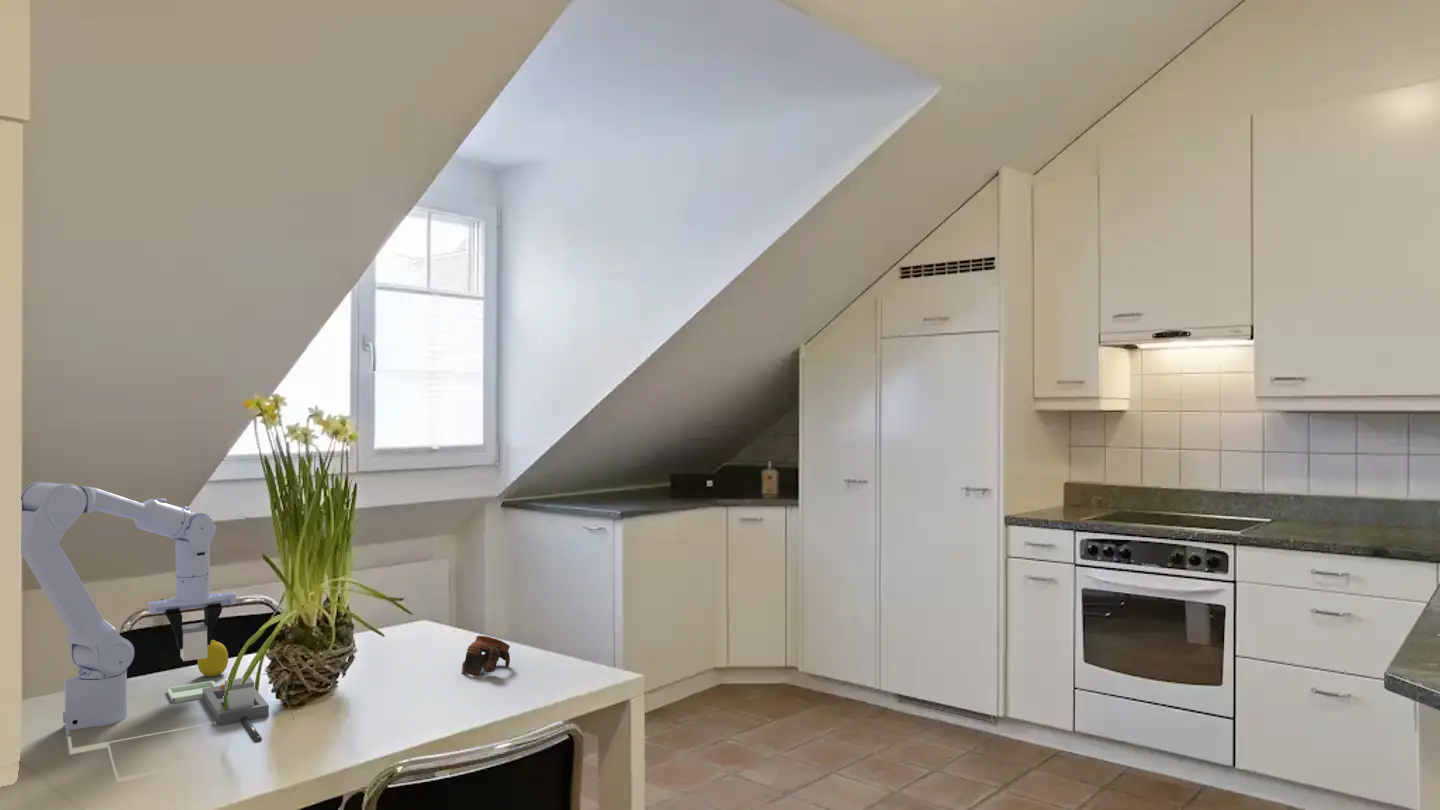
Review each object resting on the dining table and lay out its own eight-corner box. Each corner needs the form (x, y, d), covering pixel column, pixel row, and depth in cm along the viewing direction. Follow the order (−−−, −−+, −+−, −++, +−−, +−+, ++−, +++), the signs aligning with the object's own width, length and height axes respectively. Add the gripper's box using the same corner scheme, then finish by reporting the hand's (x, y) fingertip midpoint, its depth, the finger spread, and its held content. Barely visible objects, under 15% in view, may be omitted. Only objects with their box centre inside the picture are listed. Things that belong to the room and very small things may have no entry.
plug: (183, 661, 183) (182, 629, 183) (180, 656, 186) (179, 625, 186) (207, 657, 185) (207, 626, 185) (204, 653, 188) (203, 622, 188)
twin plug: (229, 720, 171) (228, 686, 171) (225, 714, 175) (224, 680, 174) (254, 715, 174) (254, 682, 174) (250, 709, 177) (249, 676, 177)
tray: (172, 707, 180) (172, 698, 180) (166, 696, 187) (166, 687, 187) (220, 698, 185) (220, 690, 185) (213, 688, 191) (213, 680, 191)
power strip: (231, 750, 158) (231, 731, 158) (202, 701, 183) (202, 685, 183) (284, 739, 163) (284, 720, 163) (249, 693, 188) (248, 677, 188)
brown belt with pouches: (452, 672, 203) (466, 634, 207) (493, 686, 207) (506, 648, 210) (470, 671, 193) (485, 630, 197) (513, 686, 197) (527, 646, 201)
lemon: (219, 683, 195) (218, 643, 195) (192, 683, 195) (191, 643, 195) (233, 675, 200) (233, 636, 200) (207, 675, 200) (206, 636, 200)
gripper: (231, 567, 193) (231, 635, 193) (146, 576, 184) (147, 647, 184) (237, 572, 187) (238, 643, 187) (150, 582, 178) (152, 655, 179)
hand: (193, 646), depth 185 cm, fingers closed on plug, 4 cm apart
